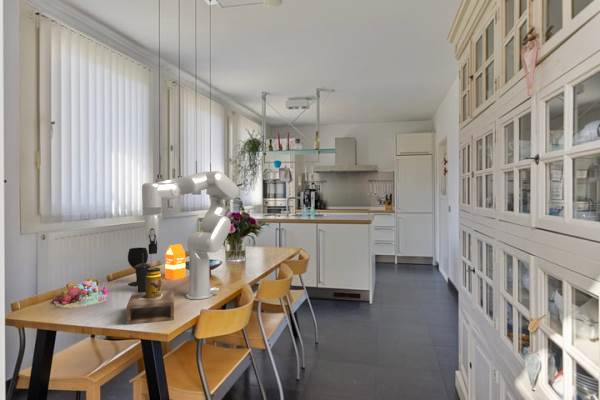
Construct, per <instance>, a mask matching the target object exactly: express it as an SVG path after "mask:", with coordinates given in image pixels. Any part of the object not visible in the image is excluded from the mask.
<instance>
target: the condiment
mask: <svg viewBox="0 0 600 400" xmlns="http://www.w3.org/2000/svg"><path fill="white" fill-rule="evenodd" d="M146 274H147V275H146V295H142V296H141V297H140V299H139V300H143V299H161V297H162V296H163V294H161V291H162V274H161V268H160V267H158V266H157V267H156V266H155V267H150V268H148V269H147V273H146Z"/></svg>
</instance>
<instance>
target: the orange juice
mask: <svg viewBox="0 0 600 400" xmlns="http://www.w3.org/2000/svg"><path fill="white" fill-rule="evenodd" d="M164 258H165V266H164V267H165V269H164V270H165V273H164V274H165V279H166V280H167V279H168V280H179V279H182V278H186V252H185V249H184V248H183V245H182V244H181V243H178V244H172V245H169V246H168V248H167V250H166V252H165V257H164Z"/></svg>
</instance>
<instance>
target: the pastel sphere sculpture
mask: <svg viewBox="0 0 600 400" xmlns="http://www.w3.org/2000/svg"><path fill="white" fill-rule="evenodd" d="M65 287H66V288H67V290H63V291H61V294H60V295H58V296H57V295H56V296H55V297H54V298H53V299H51V304H52V303H53V304H54V305H55V306H56V308H60V309H73V308H81V307H82V306H83V307H88V306H87V305H89V306H93V305H97V303H98V304H99V303H100V302H101V303H103V302H105V301H106V298H107V297H108V296H110V293H109V290H108V288H107V283H105V282H104V281H103V282H100V283H98V285H97V280H96V279H94V278H93V277H88V278H86V280H85V281H84V280H83V281H82V282H80V283H79V282H68V283H67V284H66V285H65ZM106 296H107V297H106ZM104 297H105V298H104ZM92 304H93V305H92ZM83 307H82V308H83Z"/></svg>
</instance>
